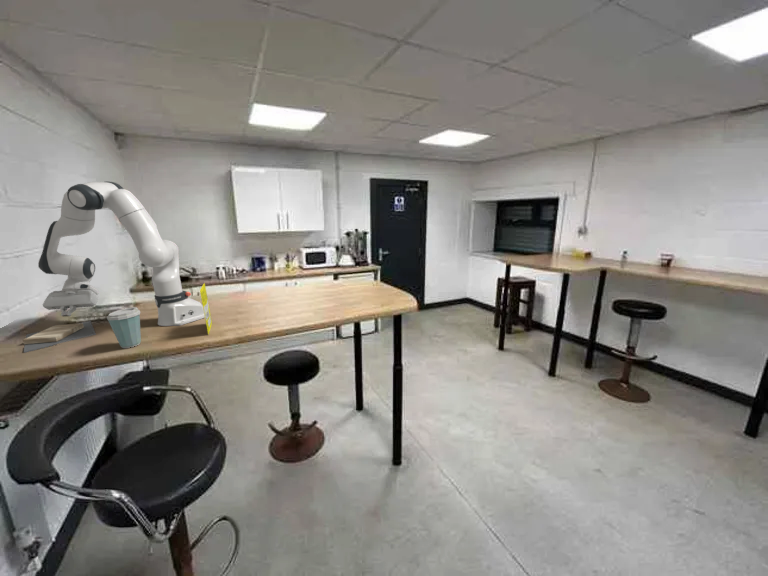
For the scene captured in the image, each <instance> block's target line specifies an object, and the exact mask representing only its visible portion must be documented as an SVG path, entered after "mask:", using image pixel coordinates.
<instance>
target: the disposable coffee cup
mask: <svg viewBox="0 0 768 576" xmlns="http://www.w3.org/2000/svg"><path fill="white" fill-rule="evenodd" d="M140 314H141V310H140V309H139V308H138V307H135V306H133V307H127V308H124V309H123V308H122V309H118V310H114V311H113V312H110V313H109V314H108V315H107V317H106V319H107V321H108V324H109V325H110V327H111V330H112V332H113V334H114V336H115V338H116V339H117V341H118V344H119V346H120V347H121V348H122V349H130V347H131V348H134V346H135V347H137V345H138V346H139V345H141V342H142V338H141V337H142V335H141V334H142V333H141V317H140Z"/></svg>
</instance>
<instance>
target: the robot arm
mask: <svg viewBox="0 0 768 576" xmlns="http://www.w3.org/2000/svg"><path fill="white" fill-rule="evenodd" d="M102 209H104V210H105V209H109V210H111V211H112V212H113V214H114V215H115V216H116V218H117V219H118V220H119V222H120V223H121V225H122V226H123V228H125V230H126V231H127V233H128V235H129V236H130V238H131V240H132V241H133V244H134V245H135V247H136V250H137V253H138V259H139V261H140V262H141V263H142V264H143V265H144V266H146V267H148V268H149V267H150V268H152V275H151V282H152V286H153V291H154V294H155V295H154V301H155V305H156V307H157V317H158V318H157V325H158V326H161V327H169V326H171V327H172V326H175V327H178V326H179V327H180V326H184V325H185V324H188V323H193V322H195V321H199V320H201V319H205V315H204V310H203V305H202V302H200V301H198V300H196V299H193V298H191V295H192V293H191V292H189V291H186V290H183V286H182V281H181V277H180V276H181V275H180V258H179V257H180V256H179V254H180V248H179V246H178V245H177V244H176V243H175V241H172V240H170V239H163V238H162V236H161V234H160V232H159V230H158V225H157V223H156V222H155V220H154V219H153V217H152V216H151V215H150V213H149V212H148V211H147V209H146V208H145V206H144V205H143V204H142V203H141V201H140V200H139V199H138V198H137V197H136V196H135V194H133V193H132V192H131V191H130V190H128V189H124V188H123V186H121V185H120V184H119V183H117V182H113V181H90V182H84V183H77V184H74V185H72V186H70V187H69V188H68V189H67V191H66V192H64V194H63V197H62V200H61V207H60V217H59V219H58V220H55V221H53V222H51V223H50V225H49V227H48V230H47V233H46V236H45V241H44V245H43V247H42V248H43V249H42V252H41V255H40V257H39V259H38V267H37V268H38V269H40V270H41V271H42V272H43V273H44V274H47V275H62V276H67V279H65V281H64V284H63V286H62V288H61V290H53V291H52V292H50V293H48V295H47V296H46V298H45V299H44V301H43V303H42V307H43V308H44V309H46V310H48V311H50V310H52V311H53V310H60V311H61V314H60V316H61V317H71V316H72V315H73V313H74V312H75V311H76V310H77V309H79V308H82V309H83V308H91V307H92V308H93V307H95V306H96V305H97V303H98V300H99V293H100V291H99V290H98V289H97V288H95V286H93V285H91V284H90V283H91V281H92V279H93V277H94V275H95V271H96V264H95V262H93V260H92V259H90V258H89V257H85V256H79V255H71V254H65V253H60V252H58V248H59V245H60V240H61V238H63V237H64V238H65V237H72V236H79V235H85V234H87V233H89V232H92V230H93V229H94V228H95V222H96V221H95V220H96V210H102Z"/></svg>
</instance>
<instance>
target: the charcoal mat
mask: <svg viewBox="0 0 768 576" xmlns="http://www.w3.org/2000/svg"><path fill="white" fill-rule="evenodd" d="M81 323H83V325H84V328H82V329H80V330H78V331H76V332H74V333H73V334H71V335H69V336H67V337H65V338H63V339H61V340H59V341H57V342H48V343H37V344H24V347H23V353H29V351H30V352H33V351H37V349H38V350H42V349H46V348H50V347H49V346H51V347H54V346H53V345H55V346H58V345H57V344H59V345H60V344H62V343H67V342H71V341H75V340H79V339H84V338H88V337H92V336H96V335H97V333H96V331H95V329H94V326H93V322H92V321H91V320H87V321H83V322H78V323H77V324H81ZM41 331H42V330H40V331H36V332H32V333H28V334H27V333H26V335H25V339H26V338H28V337H30V336H32V335H34V334H37V333H39V332H41ZM45 347H46V348H45ZM41 348H42V349H41Z"/></svg>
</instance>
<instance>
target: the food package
mask: <svg viewBox="0 0 768 576" xmlns="http://www.w3.org/2000/svg"><path fill="white" fill-rule="evenodd" d="M199 293H200V298H201V304H202V305H203V310H204V315H205V318H204V320H205V324H206V329H207V330H206V331H207V335H208V336H209V335H210V331H211V328H212V324H213V320H212V314H211V309H210V304H209V303H210V302H209V300H208V293H207V287H206V282H204V283H203V284H202V286H201V288H200V289H199Z"/></svg>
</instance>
